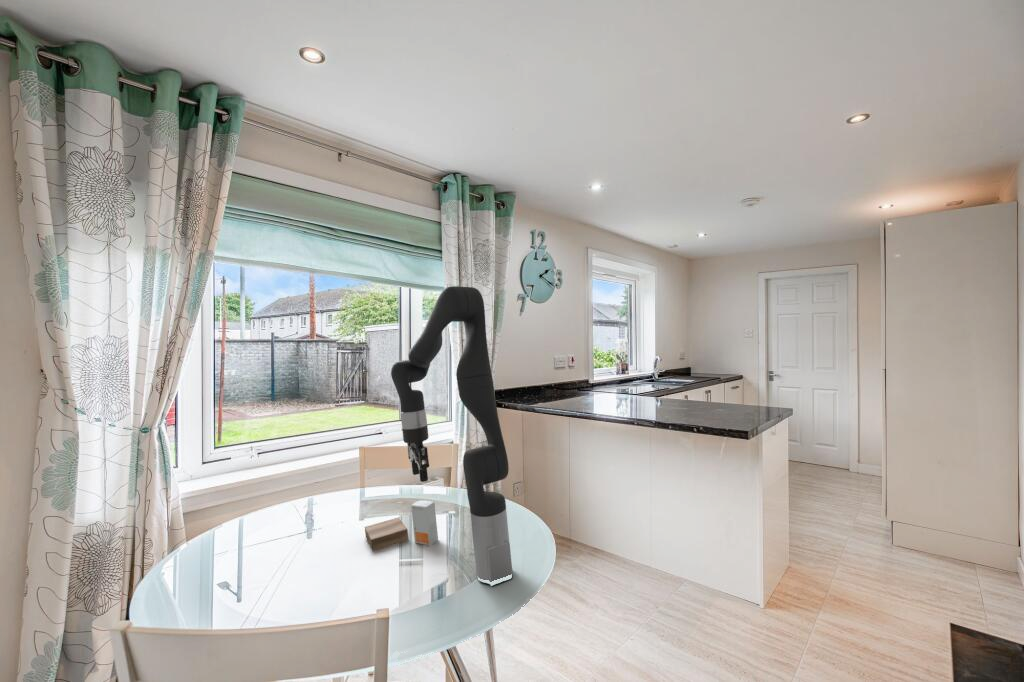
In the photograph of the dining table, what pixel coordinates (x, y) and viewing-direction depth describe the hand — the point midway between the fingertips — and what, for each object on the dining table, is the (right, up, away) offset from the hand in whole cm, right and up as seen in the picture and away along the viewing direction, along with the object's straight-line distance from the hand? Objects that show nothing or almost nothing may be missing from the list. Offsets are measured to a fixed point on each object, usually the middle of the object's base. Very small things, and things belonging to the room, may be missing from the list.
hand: (420, 477), depth 139 cm
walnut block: (-11, -21, +5) cm, 25 cm away
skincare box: (+2, -20, +1) cm, 20 cm away
